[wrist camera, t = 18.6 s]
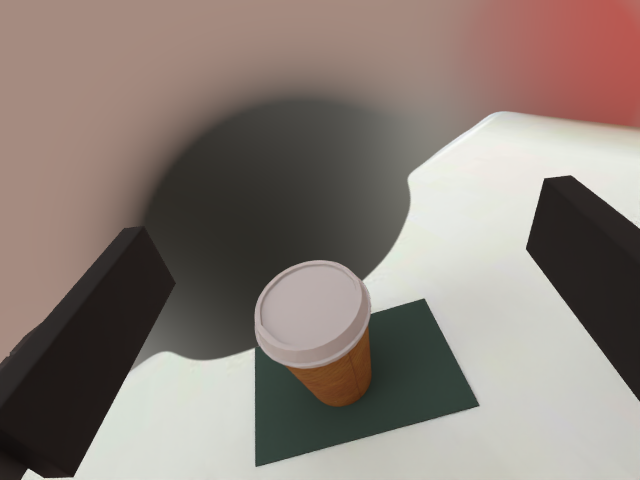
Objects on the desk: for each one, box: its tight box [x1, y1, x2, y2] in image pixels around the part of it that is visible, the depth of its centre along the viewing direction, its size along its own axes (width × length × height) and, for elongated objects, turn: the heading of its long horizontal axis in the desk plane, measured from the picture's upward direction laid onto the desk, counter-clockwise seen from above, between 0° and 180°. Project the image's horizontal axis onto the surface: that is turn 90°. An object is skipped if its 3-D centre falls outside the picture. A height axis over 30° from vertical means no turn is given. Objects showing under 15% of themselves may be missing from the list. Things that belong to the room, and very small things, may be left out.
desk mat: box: [255, 299, 479, 467], centre depth 34 cm, size 20×12×1 cm, turn 99°
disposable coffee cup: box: [255, 260, 372, 407], centre depth 30 cm, size 10×10×12 cm
